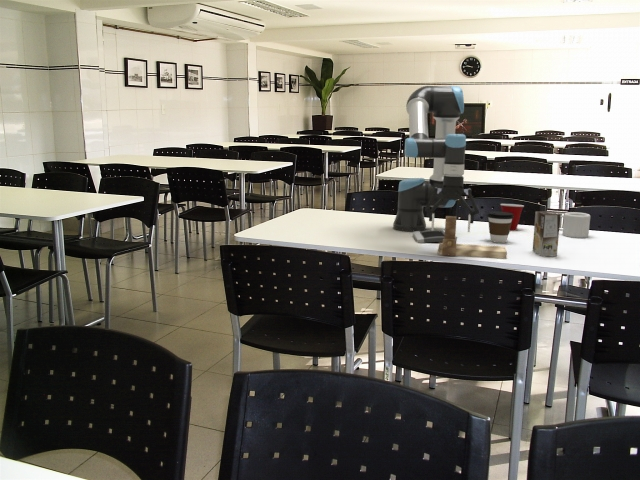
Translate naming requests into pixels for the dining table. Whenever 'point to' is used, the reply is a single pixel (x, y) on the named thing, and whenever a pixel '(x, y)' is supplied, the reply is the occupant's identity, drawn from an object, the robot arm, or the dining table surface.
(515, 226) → the plastic cup
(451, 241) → the gauge
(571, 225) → the mug
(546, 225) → the coffee box
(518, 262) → the dining table surface
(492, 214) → the coffee cup
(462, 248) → the board
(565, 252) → the dining table surface
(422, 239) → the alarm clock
